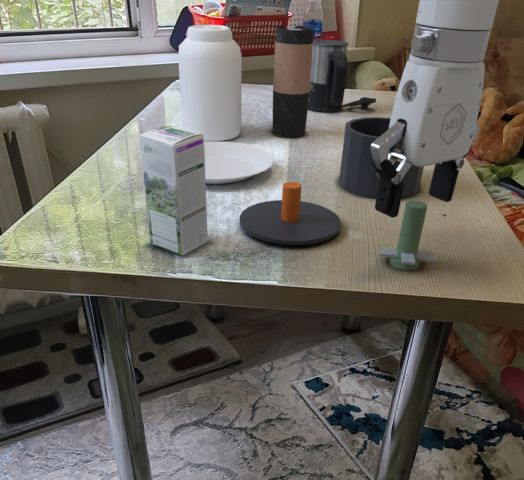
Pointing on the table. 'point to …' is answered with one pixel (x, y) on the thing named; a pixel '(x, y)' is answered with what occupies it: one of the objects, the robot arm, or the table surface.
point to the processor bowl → (369, 159)
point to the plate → (233, 162)
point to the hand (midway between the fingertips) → (413, 205)
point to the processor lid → (290, 219)
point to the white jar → (210, 82)
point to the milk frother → (330, 77)
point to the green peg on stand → (409, 239)
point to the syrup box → (175, 188)
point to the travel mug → (291, 80)
